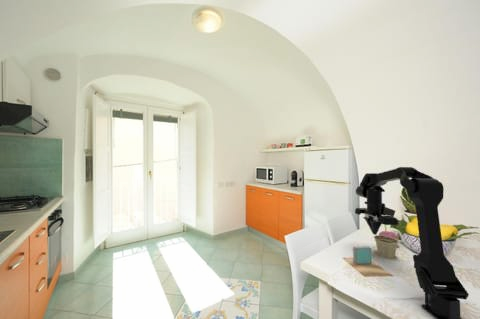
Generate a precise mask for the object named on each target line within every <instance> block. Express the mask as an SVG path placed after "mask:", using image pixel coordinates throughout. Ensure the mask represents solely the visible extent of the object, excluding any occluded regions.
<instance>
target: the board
mask: <svg viewBox="0 0 480 319" xmlns="http://www.w3.org/2000/svg"><path fill="white" fill-rule="evenodd" d="M342 259H343V260H344V261H345V262H346V263H347V264H348V265H350V266H351V267H352V268H353V269H354V270H355V271H356V272H358V273H359V274H360V275H361V276H363V277H364V278H365V277H366V278H367V277H371V278H372V277H394V275H393V274H392V273H391V272H389V271H388V270H386V269H384V268H383V267H382V266H380V265H379V264H378V263H376V262H375V261H373V260H372V264H368V265H356V264H354V263H353V257H342Z"/></svg>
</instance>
